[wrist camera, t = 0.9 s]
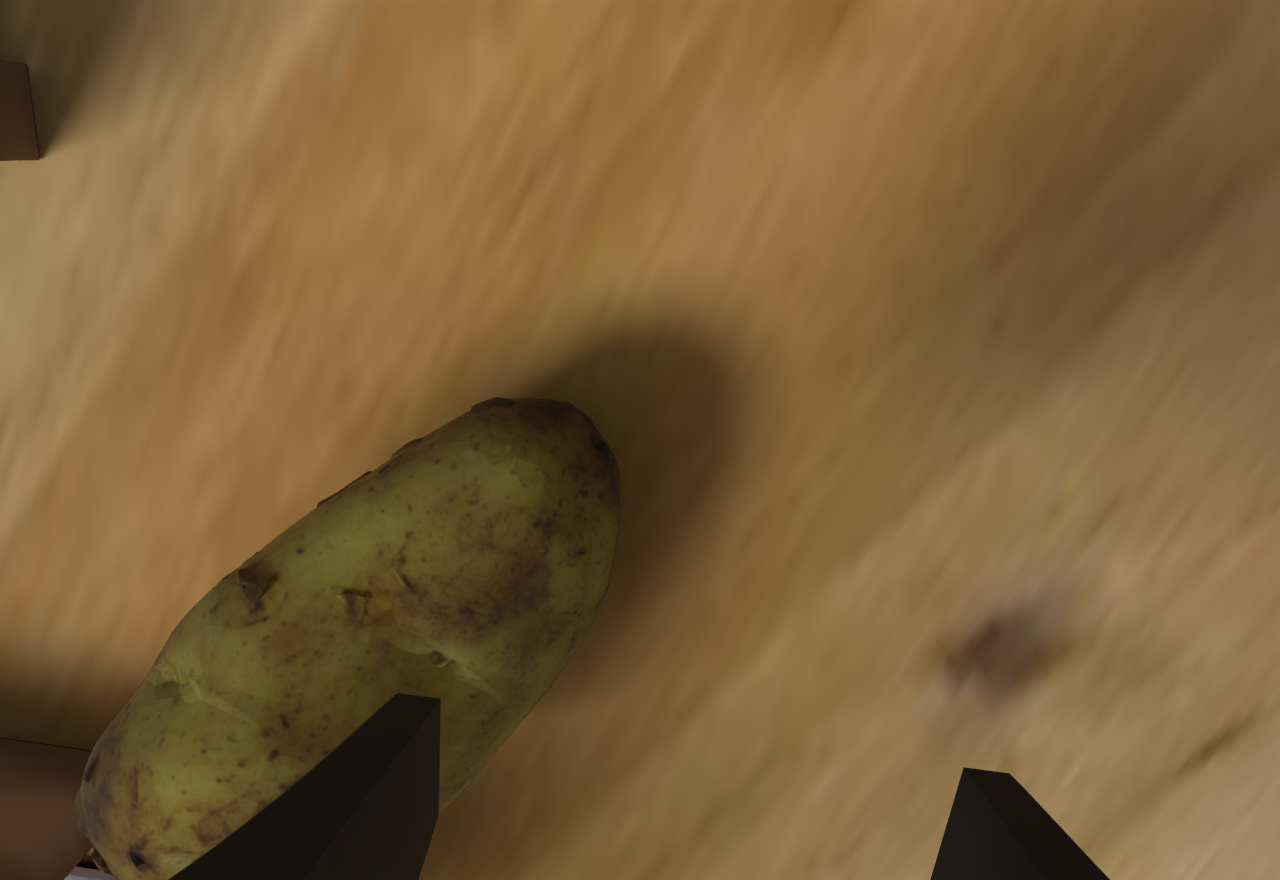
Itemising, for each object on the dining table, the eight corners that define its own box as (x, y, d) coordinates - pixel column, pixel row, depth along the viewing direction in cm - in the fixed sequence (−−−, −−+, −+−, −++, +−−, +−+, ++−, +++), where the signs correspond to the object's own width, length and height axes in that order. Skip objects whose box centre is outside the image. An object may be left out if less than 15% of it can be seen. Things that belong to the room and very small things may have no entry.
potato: (726, 615, 21) (739, 870, 14) (330, 771, 24) (160, 1054, 17) (575, 334, 19) (492, 456, 12) (157, 542, 22) (-129, 749, 14)
